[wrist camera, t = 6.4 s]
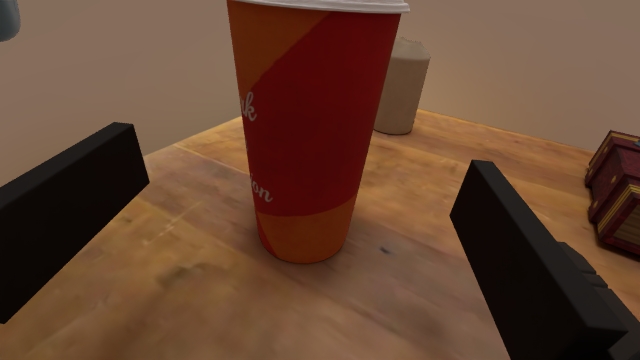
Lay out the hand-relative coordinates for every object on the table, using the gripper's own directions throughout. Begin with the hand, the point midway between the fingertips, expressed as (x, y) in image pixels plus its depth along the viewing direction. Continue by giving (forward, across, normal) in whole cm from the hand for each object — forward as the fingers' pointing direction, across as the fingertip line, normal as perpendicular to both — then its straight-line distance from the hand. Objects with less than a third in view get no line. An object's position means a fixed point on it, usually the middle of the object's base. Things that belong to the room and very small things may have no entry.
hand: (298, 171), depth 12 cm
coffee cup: (+5, 0, -8) cm, 10 cm away
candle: (+26, +8, -8) cm, 28 cm away
